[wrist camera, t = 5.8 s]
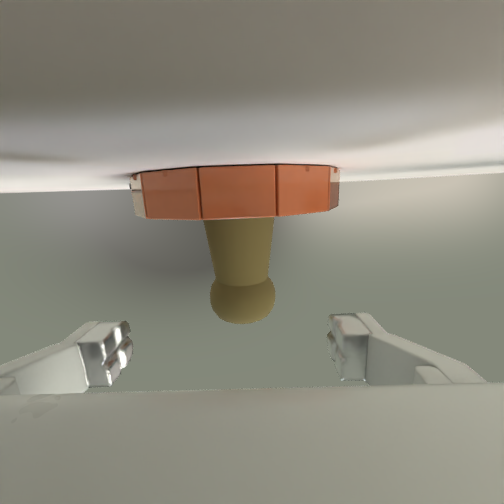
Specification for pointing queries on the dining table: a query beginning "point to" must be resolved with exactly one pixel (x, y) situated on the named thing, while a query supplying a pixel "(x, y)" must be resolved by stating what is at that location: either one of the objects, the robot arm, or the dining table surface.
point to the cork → (241, 268)
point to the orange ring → (235, 192)
